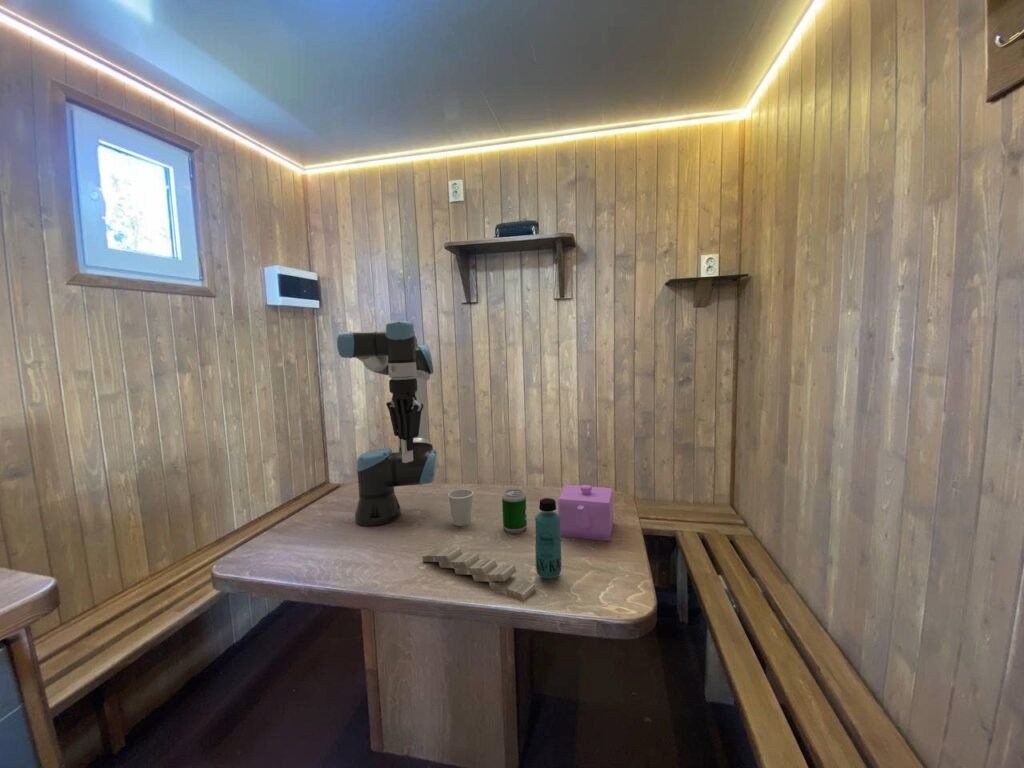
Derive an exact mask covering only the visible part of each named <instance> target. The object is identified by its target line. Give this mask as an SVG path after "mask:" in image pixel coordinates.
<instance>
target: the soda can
mask: <svg viewBox="0 0 1024 768" xmlns="http://www.w3.org/2000/svg"><path fill="white" fill-rule="evenodd" d="M501 497H502V498H501V503H502V526H503V527H502V528H503V529H504V530H505V531H506V532H508V533H510V534H519V533H522V532H524V531H525V529H527V527H528V523H527V522H528V521H527V495H526V493H525V492H524V491H523V490H521V489H518V488H516V489H515V488H512V489H508V490H506V491H504V493H503V494H502V496H501Z"/></svg>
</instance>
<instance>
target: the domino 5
mask: <svg viewBox="0 0 1024 768" xmlns="http://www.w3.org/2000/svg"><path fill="white" fill-rule="evenodd" d="M488 588H489V589H492V590H494V591H497V592H499V593H502V594H503V595H507V596H508V597H509V596H510V597H512V598H514V599H517V600H520V601H522V602H524V601H526V599H528V598H529V597H530V596H531V595H532V594H533V593H534V592H535V591H536V584H535V583H533V582H530V581H528V580H525V579H522V578H519V577H517V576H514V575H511V576H510V577H509V578H508V579H506V580H505V581H488Z"/></svg>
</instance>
